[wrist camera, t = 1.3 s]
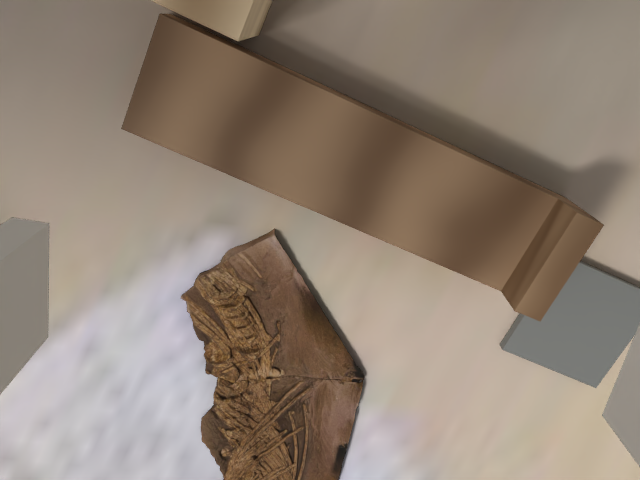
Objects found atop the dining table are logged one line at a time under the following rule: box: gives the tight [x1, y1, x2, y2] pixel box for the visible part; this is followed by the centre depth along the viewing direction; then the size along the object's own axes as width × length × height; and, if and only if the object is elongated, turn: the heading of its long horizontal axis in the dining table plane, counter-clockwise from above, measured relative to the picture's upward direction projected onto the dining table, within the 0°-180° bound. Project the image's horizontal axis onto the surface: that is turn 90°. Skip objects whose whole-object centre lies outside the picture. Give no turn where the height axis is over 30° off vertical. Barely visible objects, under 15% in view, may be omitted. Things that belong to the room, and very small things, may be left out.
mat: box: [500, 261, 640, 388], centre depth 36 cm, size 7×7×1 cm
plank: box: [121, 14, 604, 321], centre depth 31 cm, size 24×6×5 cm, turn 66°
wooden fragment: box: [181, 229, 364, 480], centre depth 39 cm, size 26×11×1 cm, turn 3°
